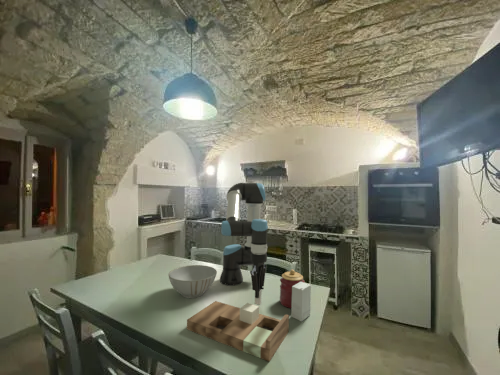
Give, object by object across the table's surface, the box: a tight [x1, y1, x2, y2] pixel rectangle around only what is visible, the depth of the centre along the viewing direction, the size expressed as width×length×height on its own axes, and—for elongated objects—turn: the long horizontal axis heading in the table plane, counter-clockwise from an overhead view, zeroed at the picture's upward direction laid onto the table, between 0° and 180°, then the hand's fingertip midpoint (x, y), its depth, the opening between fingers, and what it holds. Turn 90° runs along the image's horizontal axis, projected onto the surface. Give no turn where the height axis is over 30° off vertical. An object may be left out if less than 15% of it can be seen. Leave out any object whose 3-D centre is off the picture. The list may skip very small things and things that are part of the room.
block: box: [239, 302, 260, 325], centre depth 100 cm, size 6×6×5 cm
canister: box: [279, 269, 306, 309], centre depth 125 cm, size 13×13×18 cm
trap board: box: [186, 300, 290, 362], centre depth 99 cm, size 38×20×7 cm, turn 62°
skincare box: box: [290, 282, 312, 322], centre depth 111 cm, size 8×6×15 cm
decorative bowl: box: [168, 264, 217, 299], centre depth 134 cm, size 27×27×12 cm
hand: (258, 303), depth 108 cm, fingers closed
